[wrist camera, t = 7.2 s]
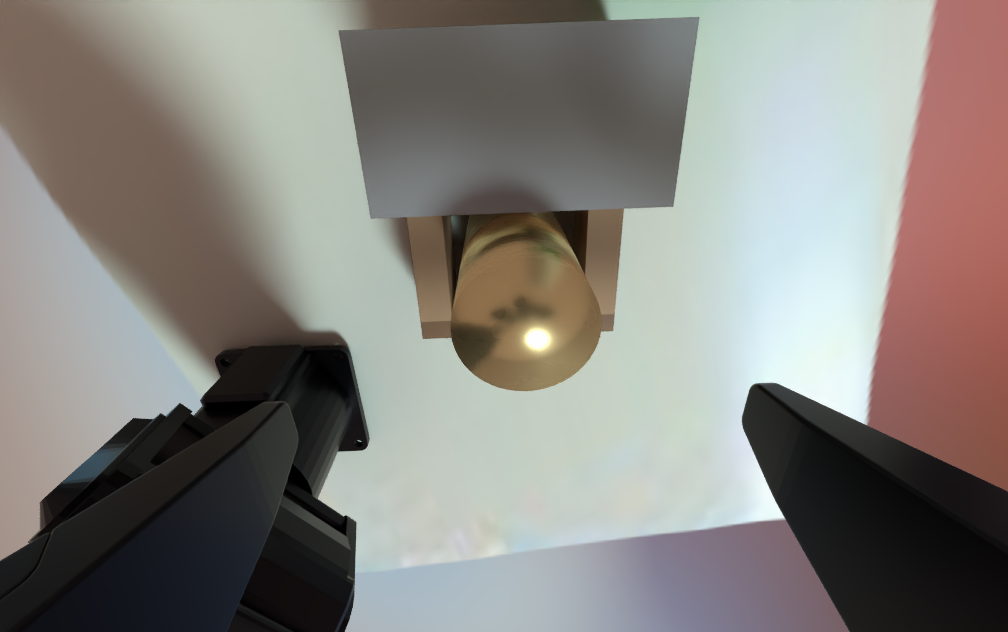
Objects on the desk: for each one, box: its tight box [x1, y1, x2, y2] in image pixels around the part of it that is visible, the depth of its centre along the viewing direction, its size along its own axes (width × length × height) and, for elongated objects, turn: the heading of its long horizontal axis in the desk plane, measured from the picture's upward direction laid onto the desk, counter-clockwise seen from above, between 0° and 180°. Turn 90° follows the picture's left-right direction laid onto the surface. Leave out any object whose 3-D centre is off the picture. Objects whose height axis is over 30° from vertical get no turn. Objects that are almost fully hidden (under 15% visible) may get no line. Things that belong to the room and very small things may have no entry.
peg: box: [451, 211, 602, 391], centre depth 16 cm, size 4×4×9 cm
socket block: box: [339, 17, 699, 339], centre depth 16 cm, size 10×8×8 cm
